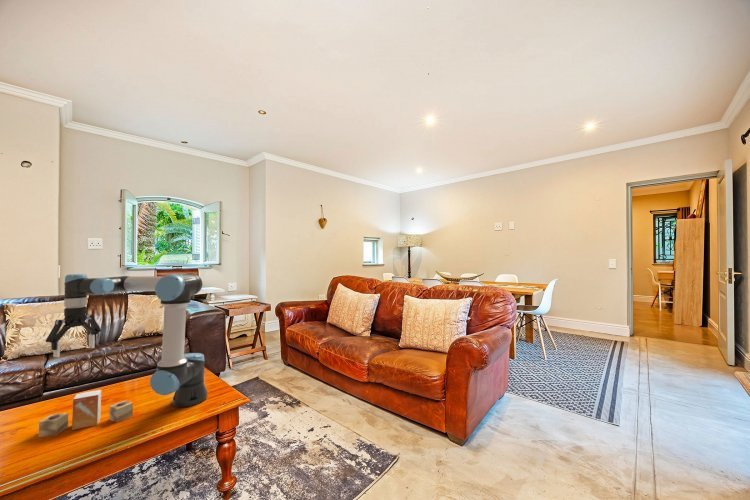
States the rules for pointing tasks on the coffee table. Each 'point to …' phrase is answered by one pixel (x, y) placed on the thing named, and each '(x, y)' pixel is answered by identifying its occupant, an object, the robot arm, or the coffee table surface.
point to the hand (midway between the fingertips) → (74, 352)
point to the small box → (86, 409)
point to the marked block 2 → (121, 411)
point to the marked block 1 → (53, 424)
